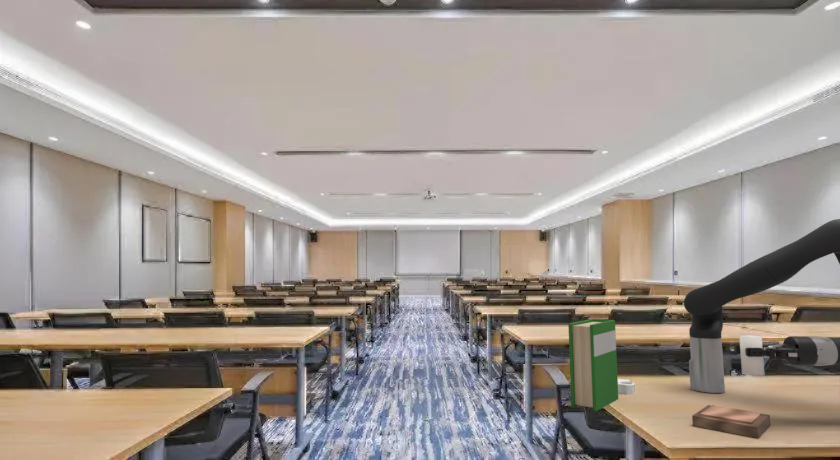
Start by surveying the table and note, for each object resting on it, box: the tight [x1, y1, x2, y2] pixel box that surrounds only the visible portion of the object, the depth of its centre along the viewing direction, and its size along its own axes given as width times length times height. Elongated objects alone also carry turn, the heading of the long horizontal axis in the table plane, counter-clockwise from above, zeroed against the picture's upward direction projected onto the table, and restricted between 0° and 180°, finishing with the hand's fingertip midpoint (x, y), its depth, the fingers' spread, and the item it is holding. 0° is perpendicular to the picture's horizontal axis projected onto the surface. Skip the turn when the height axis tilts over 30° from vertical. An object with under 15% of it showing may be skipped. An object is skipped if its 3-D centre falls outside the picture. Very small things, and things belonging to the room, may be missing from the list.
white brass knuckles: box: [618, 378, 636, 395], centre depth 166 cm, size 3×18×15 cm
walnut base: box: [691, 404, 772, 439], centre depth 125 cm, size 14×14×3 cm
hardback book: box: [568, 318, 619, 412], centre depth 149 cm, size 18×7×24 cm, turn 139°
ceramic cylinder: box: [738, 333, 766, 377], centre depth 131 cm, size 5×5×10 cm
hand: (740, 350), depth 132 cm, fingers closed on ceramic cylinder, 5 cm apart
